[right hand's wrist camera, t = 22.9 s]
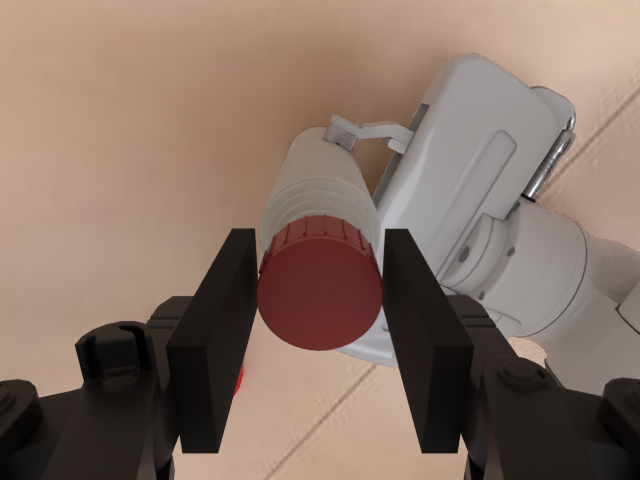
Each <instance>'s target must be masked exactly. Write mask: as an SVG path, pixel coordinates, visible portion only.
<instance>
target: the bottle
mask: <svg viewBox="0 0 640 480" xmlns="http://www.w3.org/2000/svg"><path fill="white" fill-rule="evenodd" d="M326 129H327V127H319V126H318V127H312V128H309V129H306V130H304V131H303V132H301V133H300V134H298V135H297V136H296V137H295V139H294V140H293V141H292V143H291V145H290V147H289V150H288V152H287V155H286V157H285V159H284V162H283V164H282V167H281V169H280V171H279V174H278V176H277V179H276V181H275V183H274V186H273V188H272V191H271V193H270V195H269V198H268V200H267V203H266V205H265V207H264V210H263V212H262V215H261V218H260V222H259V242H260V247H261V250H262V253H263V255H264V253H265V250H268V247H269V245H270V243H271V241H272V238H273V236H274V235H276V234H277V233H278V232H279V231H280V230H281V229H282V228H284V227H285V226H286V224H287V223H291V222H293V221H295V220H297V219H300V218H303V217H304V216H307V217H308V216H314V215H324V214H325V215H326V216H332V217H336V218H339V219H345V221H346V222H348V223H350V224H351V225H353V226H355V227H356V228H357V229H360V230H361V233H362V234H363V235H364V236H365V238H366V239H367V241H368V242H369V243H371V244H372V248H373V251H374V254H375V256H376V254H377V251H378V248H379V244H380V239H381V225H380V220H379V216H378V214H377V211H376V208H375V206H374V204H373V201H372V199H371V196H370V194H369V192H368V189H367V187H366V184H365V182H364V179H363V177H362V175H361V172H360V170H359V167H358V165H357V163H356V160H355V158H354V155H353V153H352V150H351V152H350V151H348V150H346V149H344V148H342V147H341V146H340V145H339V143H335V144H334V143H331V142H329V141H327V140H325V139H324V137H323V136H324V134H325V131H326Z"/></svg>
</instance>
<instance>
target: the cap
mask: <svg viewBox="0 0 640 480" xmlns="http://www.w3.org/2000/svg"><path fill="white" fill-rule="evenodd" d="M258 273H260V276H259V280H258V283H257V288H256V299H257V305H258V309H259V312H260V314H261V317H262V319H263V320H264V322H265V324H266V325H267V326H268V327H269V329H270V330H271V331H272V332H273V333H274V334H275V335H276V336H278V337H279V338H280V339H282V340H283V341H285V342H287V343H289V344H291V345H293V346H296V347H299V348H302V349H307V350H316V351H323V350H332V349H337V348H340V347H343V346H346V345H348V344H351V343H352V342H354V341H356V340H357V339H359V338H360V337H362V336H363V335H364V334H365V333H366V332H367V331H368V330H369V329H370V328H371V327H372V325H373V324H374V322H375V321H376V319H377V317H378V315H379V313H380V310H381V307H382V301H383V288H382V283H383V280H382V277H381V274H380V270H379V267H378V264H377V260H376V258H375V254H374V251H373V248H372V244H371V243H369V242H368V241H367V239H366V238H365V236H364V235H363V234H362V233H361V230H360V229H357V228H356V227H355V226H353V225H351V224H350V223H348V222H346V221H345V219H339V218H336V217H332V216H326V215H325V214H324V215H314V216H308V217H307V216H304V217H303V218H300V219H297V220H295V221H293V222H291V223H287V224H286V226H285V227H284V228H282V229H281V230H280V231H279V232H278V233H277V234H276V235H274V236H273V238H272V241H271V243H270V245H269V247H268V250H265V253H264V256H263V259H262V263H261V266H260V269H259V272H258Z"/></svg>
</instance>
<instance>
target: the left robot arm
mask: <svg viewBox="0 0 640 480" xmlns="http://www.w3.org/2000/svg"><path fill="white" fill-rule="evenodd" d="M575 121H576V114H575V109H574V106H573V104H572V103H571V102H570V101H569V100H568V99H567V98H566V97H564V96H562V95H560V94H558V93H556V92H554V91H553V90H551V89H549V88H547V87H543V86H531V87H528V86H527V85H525V84H524V83H523V82H521V81H520V80H519V79H517V78H516V77H515V76H513V75H512V74H511V73H509V72H508V71H506V70H505V69H503V68H502V67H500V66H499V65H497V64H495V63H494V62H492V61H491V60H489V59H487V58H485V57H483V56H481V55H479V54H475V53H464V54H460V55H456V56H453V57H451V58H448V59H445V60H444V61H442V62H441V64H440V65H439V67H438V69H437V71H436V73H435V75H434V77H433V79H432V80H431V82H430V84H429V86H428V88H427V90H426V92H425V94H424V96H423V98H422V100H421V102H420V104H419V106H418V108H417V109H416V111H415V113H414V115H413V117H412V119H411V121H410V123H409V125H408V127H407V128H406V127H404V126H402V125H400V124H398V123H396V122H393V121H381V122H372V123H362V124H360V125H357V124H355V123H353V122H351V121H349V120H347V119H345V118H342V117H340V116H338V115H335V114H333V115H332V118H331V120H330V122H329V124H328V127H327V129H326V131H325V134H324V136H323V137H324V139H325V140H327V141H329V142H331V143H334V144H335V143H339V145H340V146H341V147H342V148H344V149H346V150H348V151H350V152H351V150H352V148H353V146H354V144H355V142H356V140H357V139H370V138H382V137H383V139H382V140H383V142H384V143H385V144H386V145H387V146H388V147H389V148H391V149H393V150H395V152H394V154H393V156H392V158H391V160H390V162H389V164H388V166H387V168H386V170H385V171H384V173H383V175H382V177H381V179H380V181H379V183H378V185H377V187H376V189H375V191H374V193H373V195H372V197H371V199H372V201H373V204H374V206H375V208H376V211H377V214H378V216H379V220H380V225H381V239H380V244H379V248H378V251H377V254H376V256H375V258H376V260H377V264H378V267H379V270H380V274H381V277H382V271H383V254H384V237H385V229H408V230H409V232H410V233H411V235H412V237H413V239H414V240H415V242H416V244H417V246H418V248H419V249H420V251H421V253H422V255H423V256H424V258H425V260H426V262H427V263H428V265H429V267H430V269H431V270H432V272H433V274H434V276H435V277H436V279H437V281H438V283H439V284H440V286H441V288H442V290H443V291H444V293H445V295H468V296H470V297H471V298H473V299H474V300H476V301H477V302H479V303H480V304H482V306H483V307H484V309H485V310H486V311H487V313H488V314H489V316H490V318H492V320H493V321H494V323H495V324H496V328H499V330H500V331H501V333H502V334H503V336H504V337H505V338H506V339H508V338H509V337H511V336H512V337H518V338H524V339H528V340H531V341H533V342H535V343H537V344H538V345H539V346H540V347H541V348H542V349H544V350H545V352H546V354H547V358H546V359H544V362H545V368H546V370H547V371H548V372H550V374H551V375H552V376H553V378H554V379H555V380H556V382H557V385H558V386H560V387H563V388H567V389H571V390H575V391H580V392H585V393H590V394H594V395H599V396H602V393H603V390H604V387H605V384H607V383H608V382H609V381H610V380H611V379H616V378H622V377H624V378H633V379H640V252H638V251H636V250H634V249H632V248H630V247H628V246H626V245H624V244H621V243H619V242H615V241H611V240H606V239H598V238H595V237H593V236H591V235H590V234H589V233H588V232H587V231H586V230H585V229H584V228H583V227H582V226H581V225H580V224H578V223H577V222H575V221H573V220H571V219H570V218H567V217H565V216H563V215H561V214H559V213H557V212H555V211H553V210H551V209H549V208H547V207H545V206H542V205H540V204H538V203H536V201H535V200H536V198H537V197H538V195H539V194H540V192H541V191H542V189H543V188H544V186H545V185H546V183H547V182H548V180H549V178H550V177H551V174H552V173H553V170H554V169H555V166H556V165H557V163H558V161H559V160H560V159H561V158H562V156H563V155H565V154H566V153H567V151H568V150H569V149H570V147H571V145H572V143H573V141H574V139H575V136H576V135H575V134H574V133H572V131H573V129H574V126H575ZM567 122H568V123H567ZM566 124H567V126H566V129H563V128H564V127H565V125H566ZM334 350H336V351H339V352H341V353H344V354H347V355H350V356H353V357H356V358H359V359H362V360H365V361H369V362H372V363H376V364H380V365H384V366H389V367H399V366H398V363H397V359H396V355H395V351H394V348H393V344H392V340H391V337H390V333H389V329H388V325H387V322H386V318H385V314H384V310H383V307H381V310H380V313H379V315H378V317H377V319H376V321H375V322H374V324H373V325H372V327H371V328H370V329H369V330H368V331H367V332H366V333H365V334H364V335H363V336H362V337H360V338H359V339H357V340H356V341H354V342H352V343H351V344H348V345H346V346H343V347H340V348H337V349H334Z"/></svg>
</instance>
